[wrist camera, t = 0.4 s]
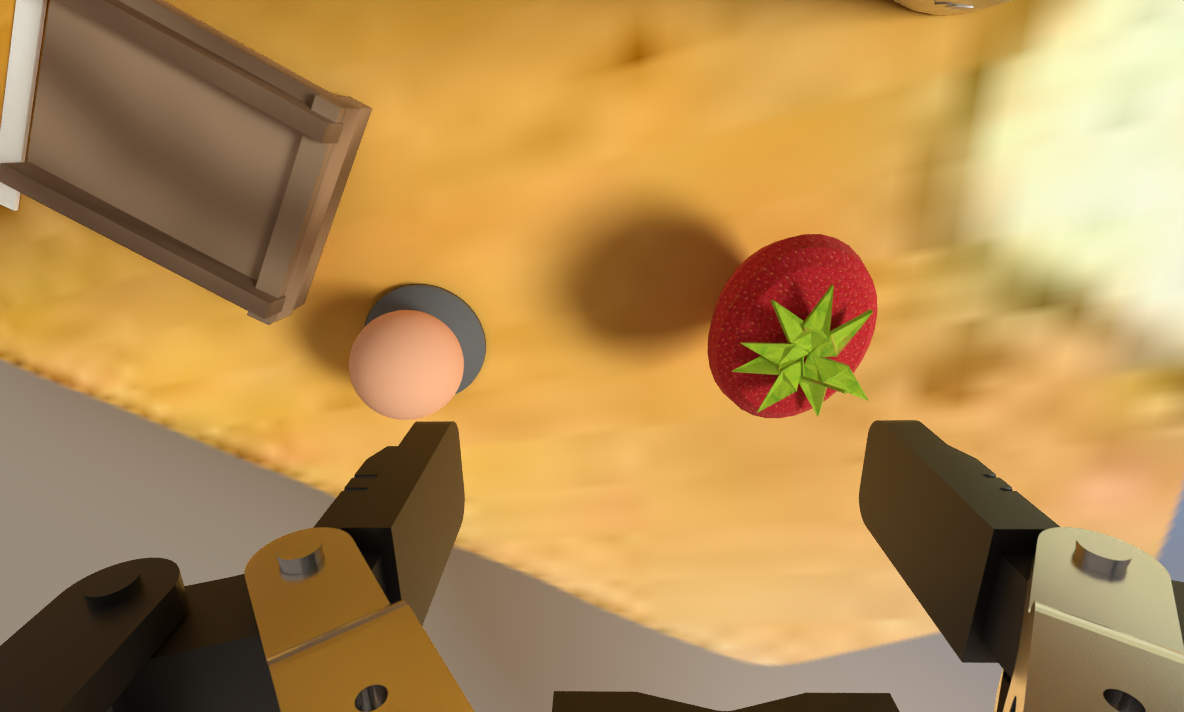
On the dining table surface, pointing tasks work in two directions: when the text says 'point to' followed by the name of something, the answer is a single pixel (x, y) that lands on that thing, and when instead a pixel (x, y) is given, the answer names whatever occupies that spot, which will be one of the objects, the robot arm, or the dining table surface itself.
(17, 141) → the painted line
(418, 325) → the rubber ball
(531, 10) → the dining table surface
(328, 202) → the walnut ramp
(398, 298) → the coaster
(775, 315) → the strawberry
